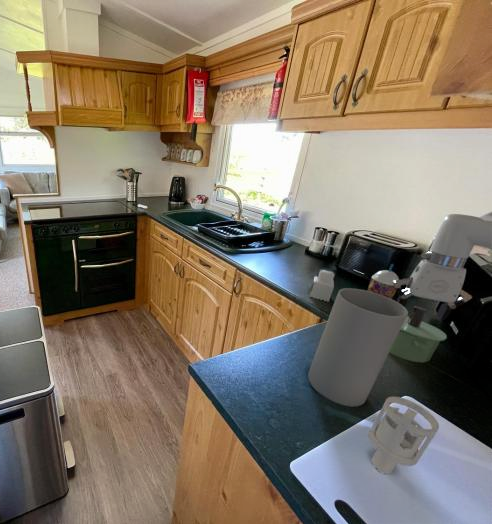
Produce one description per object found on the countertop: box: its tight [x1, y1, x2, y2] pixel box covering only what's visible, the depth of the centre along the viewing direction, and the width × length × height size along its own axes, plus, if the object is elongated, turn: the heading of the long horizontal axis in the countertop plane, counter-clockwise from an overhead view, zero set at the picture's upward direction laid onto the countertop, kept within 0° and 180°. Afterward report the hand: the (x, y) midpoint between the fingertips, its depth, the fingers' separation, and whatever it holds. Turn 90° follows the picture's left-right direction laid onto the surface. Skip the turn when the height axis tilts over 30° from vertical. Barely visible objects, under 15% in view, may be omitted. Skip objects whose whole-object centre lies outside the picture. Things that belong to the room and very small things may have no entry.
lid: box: [400, 305, 448, 342], centre depth 85 cm, size 15×15×7 cm
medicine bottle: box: [308, 267, 337, 303], centre depth 119 cm, size 7×7×12 cm
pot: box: [389, 330, 441, 363], centre depth 89 cm, size 14×19×8 cm
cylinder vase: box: [307, 287, 409, 408], centre depth 68 cm, size 12×12×25 cm
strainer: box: [368, 396, 440, 475], centre depth 52 cm, size 7×7×15 cm
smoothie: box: [366, 263, 400, 300], centre depth 108 cm, size 8×8×20 cm
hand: (419, 313), depth 85 cm, fingers open, 9 cm apart
